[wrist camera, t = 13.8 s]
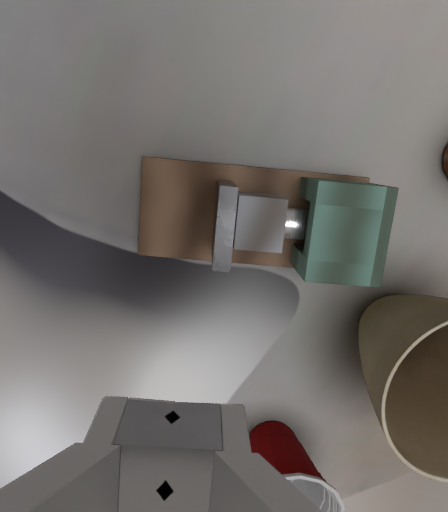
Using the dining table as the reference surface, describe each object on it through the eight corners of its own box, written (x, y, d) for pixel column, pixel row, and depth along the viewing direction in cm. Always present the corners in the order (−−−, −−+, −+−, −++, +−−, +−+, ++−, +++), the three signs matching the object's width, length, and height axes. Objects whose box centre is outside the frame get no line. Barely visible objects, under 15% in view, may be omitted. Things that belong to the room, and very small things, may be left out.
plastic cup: (262, 495, 54) (277, 589, 42) (209, 436, 52) (210, 518, 40) (333, 448, 53) (369, 532, 41) (283, 385, 51) (305, 455, 39)
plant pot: (441, 386, 51) (542, 487, 36) (318, 379, 51) (367, 480, 35) (467, 265, 48) (591, 319, 32) (336, 256, 47) (399, 307, 32)
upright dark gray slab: (211, 247, 44) (212, 270, 36) (217, 179, 43) (219, 185, 34) (339, 258, 45) (371, 283, 36) (350, 191, 44) (385, 200, 35)
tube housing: (140, 251, 46) (125, 273, 38) (144, 156, 44) (130, 157, 36) (349, 268, 47) (379, 292, 39) (364, 177, 45) (399, 182, 37)
